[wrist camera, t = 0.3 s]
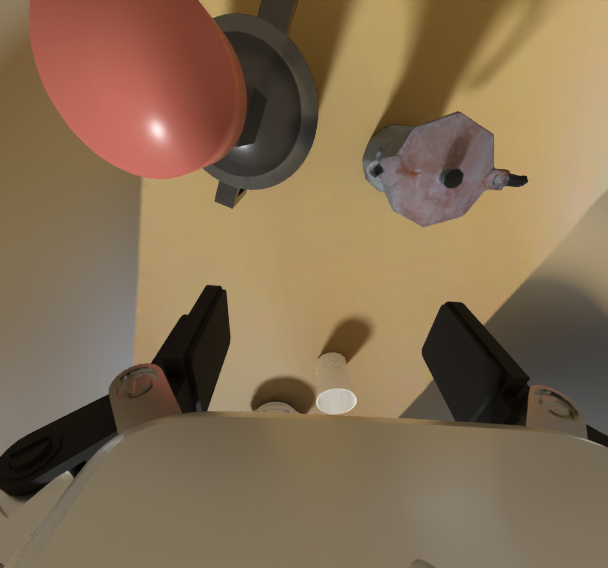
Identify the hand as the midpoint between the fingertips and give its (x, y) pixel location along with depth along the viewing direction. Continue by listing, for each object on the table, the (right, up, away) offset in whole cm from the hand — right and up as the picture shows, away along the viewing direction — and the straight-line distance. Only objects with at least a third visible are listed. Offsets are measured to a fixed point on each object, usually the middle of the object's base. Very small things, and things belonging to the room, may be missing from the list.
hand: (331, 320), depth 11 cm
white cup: (+5, -16, +48) cm, 51 cm away
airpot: (-7, +24, +24) cm, 35 cm away
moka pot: (+12, +20, +27) cm, 36 cm away
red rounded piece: (-6, +13, +5) cm, 16 cm away
